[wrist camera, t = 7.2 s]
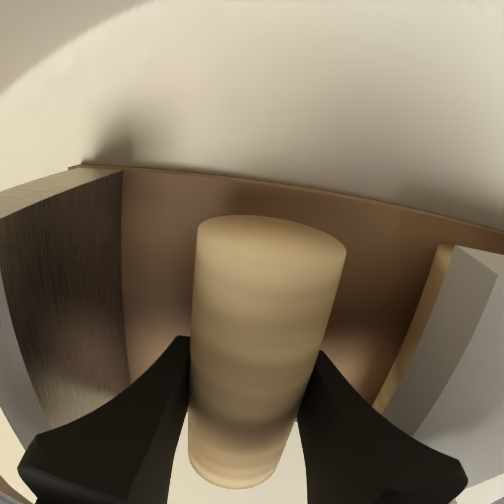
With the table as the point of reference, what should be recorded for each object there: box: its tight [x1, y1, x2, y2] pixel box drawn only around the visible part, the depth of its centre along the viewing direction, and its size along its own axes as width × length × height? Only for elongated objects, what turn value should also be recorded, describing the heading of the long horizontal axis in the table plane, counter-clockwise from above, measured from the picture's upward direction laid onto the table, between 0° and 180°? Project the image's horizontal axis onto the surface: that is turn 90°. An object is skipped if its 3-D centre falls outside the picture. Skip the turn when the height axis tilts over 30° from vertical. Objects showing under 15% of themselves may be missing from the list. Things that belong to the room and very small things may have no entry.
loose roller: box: [188, 215, 346, 489], centre depth 10 cm, size 10×4×4 cm, turn 172°
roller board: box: [0, 164, 504, 450], centre depth 11 cm, size 12×34×8 cm, turn 82°
